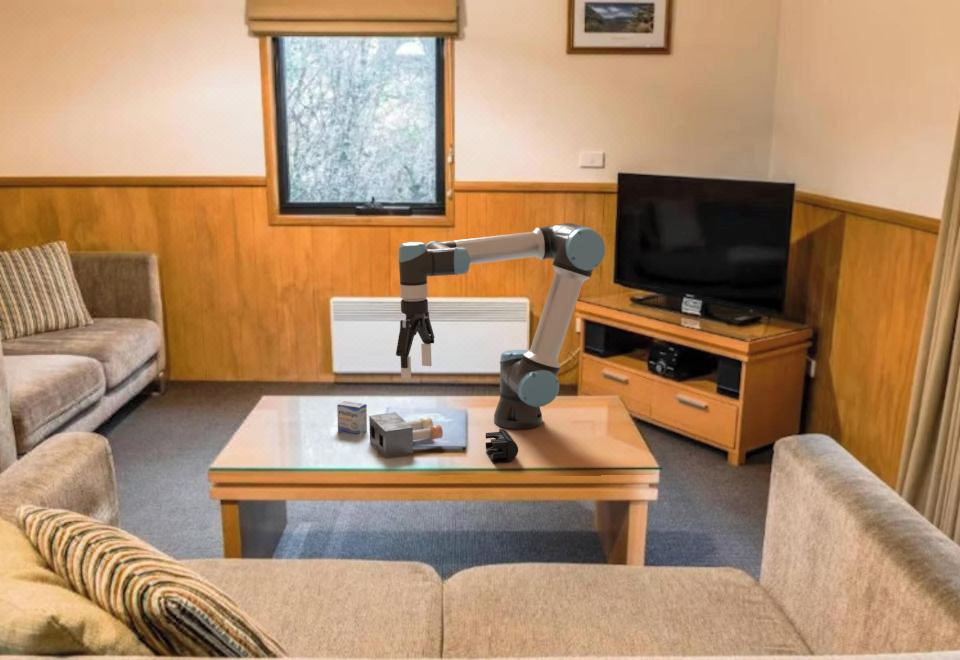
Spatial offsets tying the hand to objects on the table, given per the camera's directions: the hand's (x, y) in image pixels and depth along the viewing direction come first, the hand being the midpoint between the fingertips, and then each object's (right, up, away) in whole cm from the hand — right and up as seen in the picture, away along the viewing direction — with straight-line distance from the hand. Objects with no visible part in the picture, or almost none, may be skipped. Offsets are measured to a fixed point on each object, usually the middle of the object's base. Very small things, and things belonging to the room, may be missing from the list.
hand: (416, 372), depth 242 cm
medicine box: (-21, -19, +18) cm, 34 cm away
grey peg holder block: (-8, -22, +4) cm, 24 cm away
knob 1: (-4, -18, +10) cm, 21 cm away
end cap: (+24, -24, -2) cm, 34 cm away
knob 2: (0, -20, +4) cm, 20 cm away
